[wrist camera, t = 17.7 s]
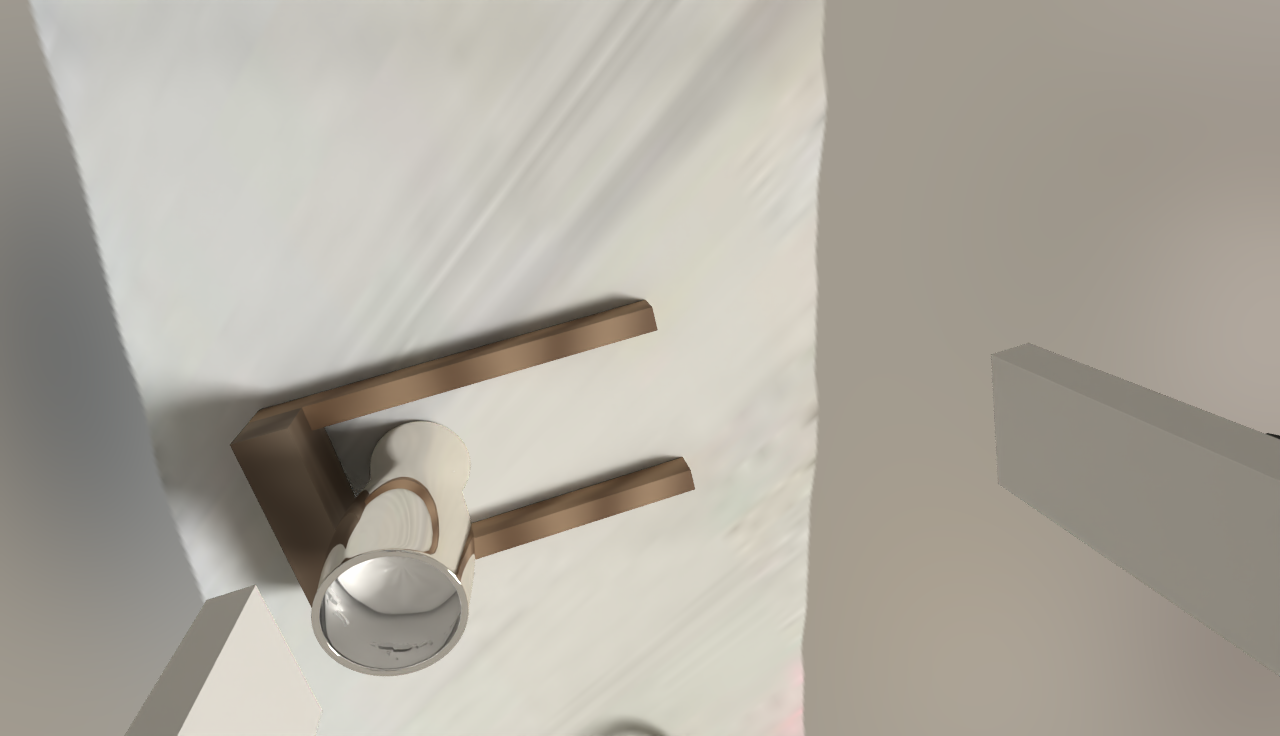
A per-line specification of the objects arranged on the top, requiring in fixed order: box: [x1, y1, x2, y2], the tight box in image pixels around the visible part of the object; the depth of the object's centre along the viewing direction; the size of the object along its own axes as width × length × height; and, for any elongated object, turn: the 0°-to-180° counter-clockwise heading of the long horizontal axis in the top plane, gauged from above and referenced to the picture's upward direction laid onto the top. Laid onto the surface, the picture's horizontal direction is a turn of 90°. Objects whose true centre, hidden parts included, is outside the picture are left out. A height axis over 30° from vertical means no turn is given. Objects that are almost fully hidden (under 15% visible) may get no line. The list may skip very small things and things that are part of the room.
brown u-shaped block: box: [230, 300, 695, 607], centre depth 43 cm, size 24×13×5 cm, turn 103°
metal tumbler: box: [311, 421, 475, 676], centre depth 37 cm, size 7×7×15 cm
